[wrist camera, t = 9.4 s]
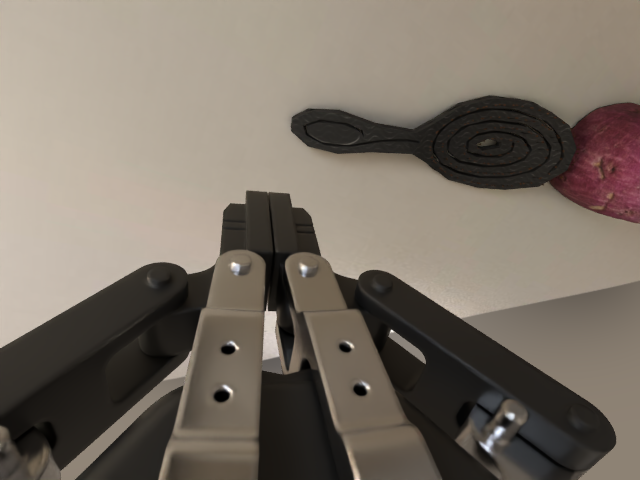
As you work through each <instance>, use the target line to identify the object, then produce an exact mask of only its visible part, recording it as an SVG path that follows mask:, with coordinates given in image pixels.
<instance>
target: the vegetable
mask: <svg viewBox="0 0 640 480" xmlns="http://www.w3.org/2000/svg"><path fill="white" fill-rule="evenodd" d="M571 132H572V133H575V134H572V135H573V139H574V142H575V145H576V148H577V149H576V152H575V153H579V154H574V156H573V158H572V161H571V163H570V164H573V165H569V167H568V170H567V171H565V172H563V173H562V174H560V175H558V176H556V177H557V178H553V179H551V180H552V181H551V180H550V184H551V185H552V186H553V187H554V188H555V189H556V190H558V191H559V192H560V193H561V194H562V195H564V196H565V197H567V198H568V199H569V200H571V201H573V202H575V203H577V204H578V205H580V206H582V207H584V208H587V209H589V210H592V211H594V212H597V213H599V214H603V215H606V216H610V217H613V218H617V219H622V220H626V221H630V222H634V223H639V224H640V105H637V104H634V103H621V104H614V105H609V106H605V107H601V108H598V109H596V110H594V111H592V112H591V113H590V114H588V115H587V116H586V117H585V118H583V119H582V120H581V121H579V123H578V124H577V125H576V126H575V127H574V128H573V129H572V130H571ZM574 135H575V137H574ZM578 144H579V145H580V146H578ZM578 149H580V150H578ZM573 162H575V163H573ZM569 170H570V171H569ZM560 177H563V178H561V179H560Z"/></svg>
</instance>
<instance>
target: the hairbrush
mask: <svg viewBox="0 0 640 480" xmlns="http://www.w3.org/2000/svg"><path fill="white" fill-rule="evenodd" d="M509 109H516V110H519V111H521V112H524V113H527V114H529V115H532V116H535V117H537V118H540V119H542V120H543V121H544V122H546V123H547V124H548V125H549V126H550V127H551V128H552V129H553V130H554V131H552V130H551V129H550V128H549V127H547V126H546V125H545V124H543V123H542V122H541V121H539V120H537V119H536V118H535V117H532V116H529V115H526V114H524V113H521V112H518V111H515V110H509ZM520 123H525V124H527V125H529V126H530V127H532V128H533V129H535V130H536V131H538V132H539V133H540V134H541V135H542V136H543V138H544V139H543V138H542V137H541V136H540V135H538V134H537V133H536V132H534V131H533V130H532V129H530V128H528V127H526V126H524V125H522V124H520ZM304 125H306V128H307V132H308V133H307V132H306V131H305V128H304ZM357 128H358V129H357ZM359 129H360V130H361V131H362V133H361V131H360V130H359ZM571 130H572V128H571V129H570V126H569V125H568V124H567V123H565V122H564V121H563V120H561V119H560V118H559V117H557V116H556V115H555V114H553V113H552V112H550V111H548V110H546V109H545V108H543V107H541V106H539V105H538V104H536V103H534V102H530V101H525V100H520V99H514V98H505V97H497V96H486V97H482V98H478V99H474V100H470V101H466V102H462V103H459V104H457V105H455V106H454V107H452V108H450V109H449V110H447V111H445V112H444V113H442V114H440V115H439V116H437V117H435V118H434V119H432V120H430V121H428V122H426V123H424V124H423V125H421V126H419V127H417V128H415V129H407V128H401V127H396V126H390V125H384V124H378V123H374V122H371V121H369V120H366V119H363V118H360V117H358V116H355V115H352V114H349V113H347V112H344V111H341V110H329V109H306V110H305V111H303V112H301V113H299V114H297V115H295V116H293V117H292V123H291V131H292V132H293V133H294V134H295V135H296V136H297V137H298V138H299V139H301V140H302V141H303V142H304V143H305V144H306V145H307V146H309V147H313V148H317V149H321V150H325V151H329V152H333V153H337V154H342V153H365V152H379V153H402V154H413V155H415V156H416V157H418V158H420V159H421V160H423V161H424V162H426V163H427V164H428V165H429V166H430V167H431V168H432V169H434V170H436V171H438V172H439V173H440V174H441V175H443V176H444V177H445V178H447V179H448V180H452V181H455V182H459V183H463V184H466V185H470V186H474V187H477V188H489V189H503V190H507V189H518V188H529V187H538V186H540V185H544V183H546V182H547V181H550V180H551V179H553V178H557V177H556V176H558V175H560V174H562V173H563V172H565V171H567V170H568V167H569V165H573V164H570V163H571V161H572V158H573V156H574V154H579V153H575V152H576V149H577V148H576V145H575V142H574V139H573V135H572V134H575V133H572V132H571ZM509 132H510V133H509ZM554 132H555V133H554ZM511 133H515V134H517V135H519V136H521V137H523V138H524V139H525V140H526V144H527V146H526V144H525V142H524V141H523V140H522V139H521V138H519V137H517V136H515V135H513V134H511ZM574 137H575V135H574ZM487 139H491V140H494V141H497V143H496V145H494V146H484V147H479V146H477V145H476V144H477V143H480V142H482V141H484V140H487ZM484 142H485V141H484ZM479 145H481V143H480V144H479ZM578 146H580V145H579V144H578ZM447 150H448V151H449V152H450V154H452V155H453V156H454V157H456V158H454V157H451V156H449V155H448V154H447ZM467 150H468V151H470V152H468V151H467ZM578 150H580V149H578ZM433 152H434V154H435V155H436V157H437V158H438V159H439V160H440V162H441V163H440V162H438V161H437V159H436V158H435V157H434V156H433ZM471 152H474V153H471ZM475 153H477V154H475ZM442 163H443V164H442ZM573 163H575V162H573ZM444 164H445V165H444ZM446 165H447V166H446ZM569 171H570V170H569ZM561 178H563V177H560V179H561ZM551 181H552V180H551Z"/></svg>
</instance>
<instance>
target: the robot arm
mask: <svg viewBox="0 0 640 480" xmlns="http://www.w3.org/2000/svg"><path fill="white" fill-rule="evenodd" d="M267 303H268V311H276V313H277V321H276V327H275V333H276V339H277V344H278V350H279V355H280V361H281V367H282V372H283V374H276V373H272V372H267V371H262V357H263V336H264V311H266V306H267ZM391 329H392V330H393V331H395V332H396V333H398V334H399V335H400V336H402V337H403V338H405V339H406V340H407V341H408V342H410V343H411V344H413V345H414V346H415V347H417V348H418V349H419V350H420V351H421V352H422V353H423V355H424V356H425V359H426V364H424V363H423V362H421V361H420V360H419V359H417V358H416V357H415V356H413V355H412V354H410V353H409V352H408V351H406V350H405V349H404V348H403V347H401V346H400V345H399V344H397V343H396V342H395V341H393V340H392V339H391V338H389V337H388V336H389V333H390V330H391ZM190 351H192V352H191V356H190V361H189V365H188V369H187V374H186V378H185V383H184V386H181V387H179V388H177V389H175V390H173V391H171V392H169V393H168V394H166V395H165V396H163V397H161V398H160V399H159V400H158V401H157V402H155V403H154V404H152V405H151V406H150V407H149V408H148V409H147V410H146V411H145V412H143V414H142V415H140V416H139V418H137V419H136V420H135V421H134V422H133V423H132V424H131V425H130V426H129V427H128V428H127V430H125V431H124V432H123V433H122V434H121V435H120V436H119V437H118V438H117V439H116V440H115V441H114V442H113V443H112V444H111V445H110V446H109V447H108V448H107V449H106V450H105V451H104V452H103V453H102V454H101V455H100V456H99V457H98V458H97V459H96V460H95V461H94V462H93V463H92V464H91V465H90V466H89V467H88V468H87V469H86V470H85V471H84V472H83V473H82V474H81V475H79V476H78V477H77V478H76V479H75V480H578V479H579V478H580V477H581V476H582V475H584V473H586V472H587V471H588V470H589V469H590V468H591V467H592V466H594V465H595V464H596V463H597V462H598V461H599V460H600V459H602V458H603V457H604V456H605V455H606V454H607V453H608V452H609V451H611V450H612V449H613V448H614V446H615V444H616V435H615V432H614V429H613V427H612V425H611V424H610V422H609V421H608V419H607V418H606V417H605V416H604V415H603V413H602V412H600V410H598V409H597V408H596V407H595V406H593V405H592V404H591V403H590V402H588V401H587V400H585V399H584V398H582V397H580V396H579V395H577V394H576V393H574V392H573V391H571V390H570V389H568V388H567V387H565V386H563V385H562V384H560V383H559V382H557V381H556V380H554V379H553V378H551V377H550V376H548V375H546V374H545V373H543V372H542V371H540V370H539V369H537V368H536V367H534V366H533V365H531V364H530V363H528V362H526V361H525V360H523V359H522V358H520V357H519V356H517V355H516V354H514V353H513V352H511V351H509V350H508V349H506V348H505V347H503V346H502V345H500V344H499V343H497V342H496V341H494V340H492V339H491V338H489V337H488V336H486V335H485V334H483V333H482V332H480V331H478V330H477V329H476V328H474V327H472V326H471V325H469V324H468V323H466V322H464V321H463V320H462V319H460V318H459V317H457V316H455V315H454V314H452V313H451V312H449V311H448V310H446V309H445V308H443V307H442V306H440V305H438V304H437V303H435V302H434V301H432V300H431V299H429V298H428V297H426V296H425V295H423V294H421V293H420V292H418V291H417V290H415V289H414V288H412V287H411V286H409V285H408V284H406V283H404V282H403V281H401V280H400V279H398V278H397V277H395V276H394V275H392V274H390V273H387V272H384V271H380V270H369V271H366V272H364V273H362V274H361V275H360V276H359V279H358V280H355V279H352V278H348V277H344V276H341V275H338V274H336V273H334V272H333V270H332V268H331V265H330V264H329V262H328V261H327V260H326V259H324V258H323V257H321V254H320V250H319V246H318V242H317V238H316V234H315V230H314V227H313V223H312V219H311V216H310V215H309V214H308V213H307V212H306V211H305V210H304V209H303V208H293V207H292V204H291V199H290V194H287V193H274V192H269V193H267V192H260V191H246V203H245V204H232V203H230V205H229V206H228V207H227V208H226V209H225V210H224V212H223V224H222V236H221V248H220V256H219V257H218V259H217V261H216V264H215V265H214V266H212V267H211V268H209V269H207V270H205V271H202V272H198V273H193V274H188V275H187V273H186V271H185V270H184V269H183V268H182V267H180V266H178V265H176V264H172V263H165V262H160V263H152V264H148V265H146V266H143V267H141V268H139V269H138V270H136V271H134V272H132V273H131V274H129V275H127V276H125V277H124V278H122V279H120V280H118V281H117V282H115V283H113V284H112V285H110V286H108V287H106V288H105V289H103V290H101V291H99V292H98V293H96V294H94V295H92V296H91V297H89V298H87V299H85V300H84V301H82V302H80V303H79V304H77V305H75V306H73V307H72V308H70V309H68V310H66V311H65V312H63V313H61V314H59V315H58V316H56V317H54V318H52V319H51V320H49V321H47V322H46V323H44V324H42V325H40V326H39V327H37V328H35V329H33V330H32V331H30V332H28V333H26V334H25V335H23V336H21V337H19V338H18V339H16V340H14V341H13V342H11V343H9V344H7V345H6V346H4V347H2V348H0V480H61V473H60V471H61V470H62V469H63V468H64V467H66V466H67V465H68V464H69V463H70V462H71V461H72V460H73V459H75V458H76V457H77V456H78V455H79V454H80V453H81V452H82V451H84V450H85V449H86V448H87V447H88V446H89V445H90V444H91V443H93V442H94V441H95V440H96V439H97V438H98V437H99V436H100V435H101V434H102V433H104V432H105V431H106V430H107V429H108V428H109V427H110V426H112V425H113V424H114V423H115V422H116V421H117V420H118V419H120V418H121V417H122V416H123V415H124V414H125V413H126V412H127V411H128V410H130V409H131V408H132V407H133V406H134V405H135V404H136V403H137V402H138V401H140V400H141V399H142V398H143V397H144V396H145V395H146V394H148V393H149V392H150V391H151V390H152V389H153V388H154V387H155V386H157V385H158V384H159V383H160V382H161V381H162V380H163V379H164V378H166V377H167V376H168V375H169V374H170V373H171V372H172V371H173V370H175V369H176V368H177V367H178V366H179V365H180V364H181V363H182V362H183V361H184V360H185V359H186V358H187V357H188V355H189V352H190Z"/></svg>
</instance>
